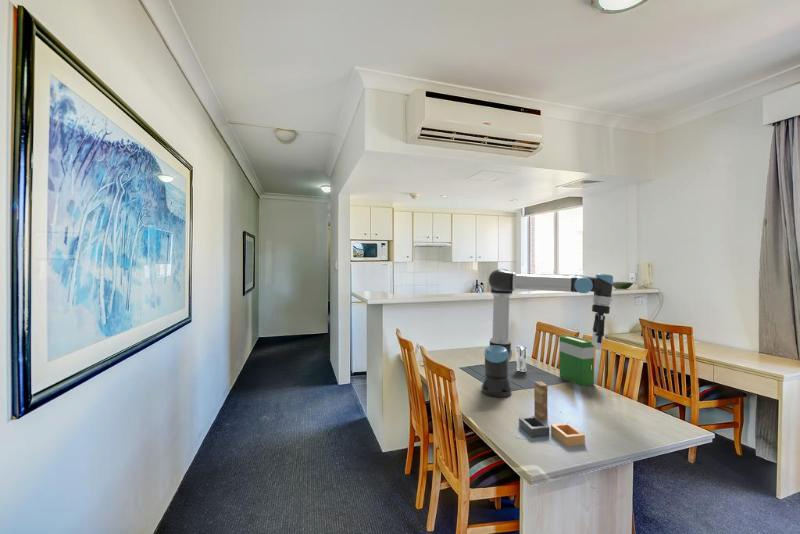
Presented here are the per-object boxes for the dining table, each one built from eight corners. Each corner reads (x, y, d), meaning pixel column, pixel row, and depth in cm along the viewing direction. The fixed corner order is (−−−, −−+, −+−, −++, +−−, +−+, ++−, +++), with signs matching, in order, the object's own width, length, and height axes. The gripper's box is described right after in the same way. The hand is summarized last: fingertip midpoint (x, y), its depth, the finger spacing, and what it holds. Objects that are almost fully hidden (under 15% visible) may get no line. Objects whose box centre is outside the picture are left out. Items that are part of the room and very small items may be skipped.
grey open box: (531, 437, 128) (531, 428, 128) (519, 426, 137) (518, 417, 137) (549, 436, 129) (549, 427, 129) (535, 424, 138) (535, 416, 138)
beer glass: (526, 373, 204) (525, 349, 204) (514, 372, 208) (514, 348, 207) (528, 370, 210) (528, 346, 210) (517, 368, 213) (516, 345, 213)
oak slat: (541, 423, 142) (540, 385, 141) (534, 417, 147) (534, 381, 146) (547, 422, 142) (547, 385, 142) (540, 417, 147) (540, 381, 147)
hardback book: (559, 375, 200) (559, 336, 199) (570, 374, 202) (569, 335, 201) (582, 386, 183) (582, 342, 182) (593, 384, 184) (593, 341, 184)
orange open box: (566, 446, 122) (566, 436, 122) (551, 433, 131) (551, 424, 131) (584, 444, 123) (584, 435, 123) (568, 431, 132) (568, 422, 132)
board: (516, 440, 128) (516, 437, 128) (518, 424, 141) (518, 421, 141) (587, 454, 118) (587, 451, 118) (583, 435, 131) (583, 432, 131)
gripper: (614, 307, 153) (609, 353, 153) (606, 304, 176) (601, 344, 176) (595, 305, 157) (590, 349, 156) (589, 302, 179) (585, 341, 179)
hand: (596, 347), depth 166 cm, fingers open, 13 cm apart
